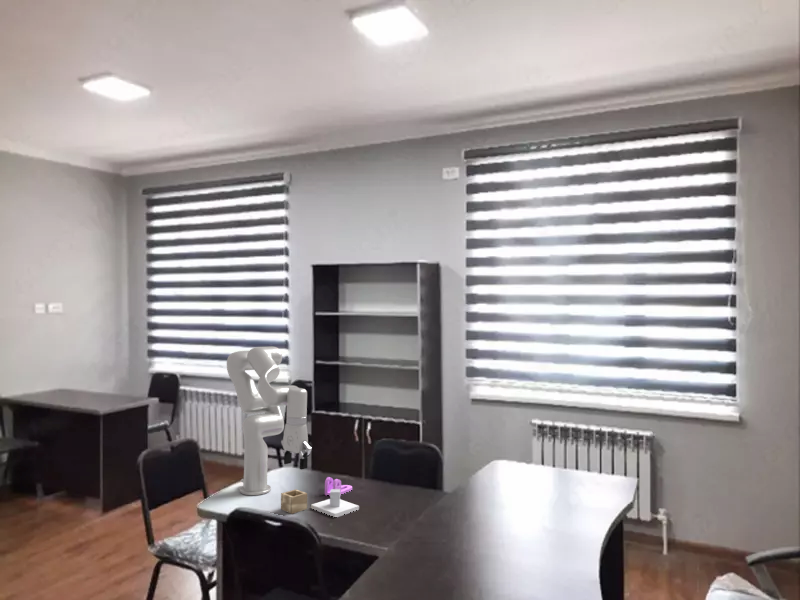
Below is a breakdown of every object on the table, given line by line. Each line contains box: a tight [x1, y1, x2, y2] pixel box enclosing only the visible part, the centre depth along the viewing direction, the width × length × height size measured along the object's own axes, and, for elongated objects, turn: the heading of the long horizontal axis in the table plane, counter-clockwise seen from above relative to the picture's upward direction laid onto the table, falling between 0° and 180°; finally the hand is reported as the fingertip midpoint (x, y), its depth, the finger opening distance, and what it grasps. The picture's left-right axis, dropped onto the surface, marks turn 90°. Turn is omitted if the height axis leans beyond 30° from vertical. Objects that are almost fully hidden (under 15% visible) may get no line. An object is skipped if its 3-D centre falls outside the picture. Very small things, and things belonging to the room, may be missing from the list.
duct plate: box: [310, 489, 360, 518], centre depth 216 cm, size 14×12×7 cm
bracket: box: [324, 476, 353, 497], centre depth 236 cm, size 13×6×7 cm, turn 147°
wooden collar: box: [280, 489, 308, 515], centre depth 215 cm, size 7×7×6 cm
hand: (295, 466), depth 215 cm, fingers open, 9 cm apart
